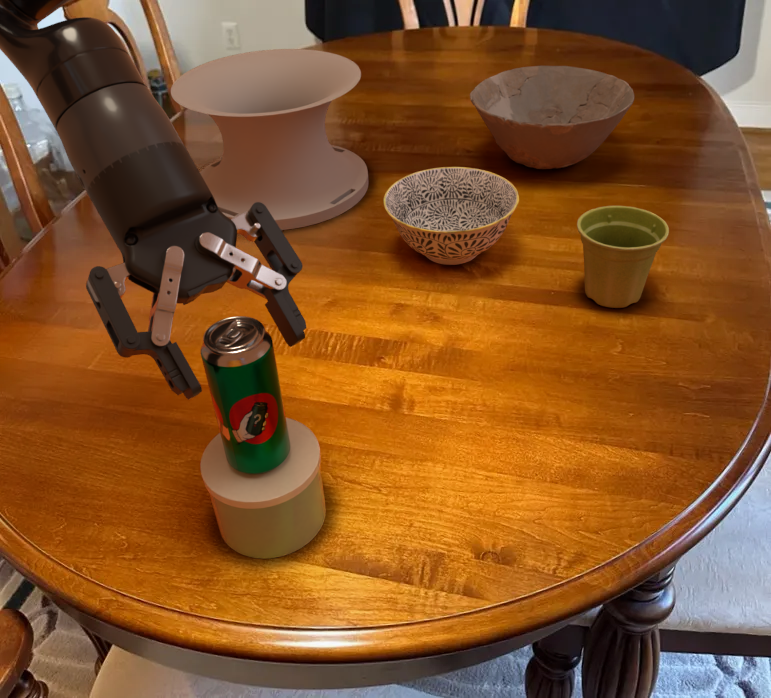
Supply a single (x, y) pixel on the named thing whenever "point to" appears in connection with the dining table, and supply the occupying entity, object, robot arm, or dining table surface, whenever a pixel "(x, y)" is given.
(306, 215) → the vase
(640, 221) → the plant pot
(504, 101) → the ceramic bowl
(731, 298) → the dining table surface
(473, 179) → the bowl
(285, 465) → the canister
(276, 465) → the soda can
